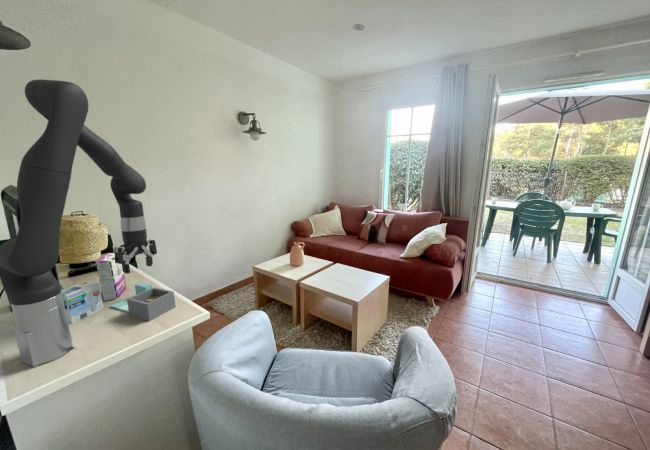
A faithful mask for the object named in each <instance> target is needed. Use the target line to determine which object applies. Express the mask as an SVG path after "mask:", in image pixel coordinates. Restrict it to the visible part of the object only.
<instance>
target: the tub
mask: <svg viewBox="0 0 650 450" xmlns="http://www.w3.org/2000/svg"><path fill="white" fill-rule="evenodd" d="M134 295H135V296H134ZM134 295H132V296H133V297H132V296H129V297H130V298H129V297H128V299H127V298H126V299H127V303H128V309H129V312H128V313H129V316H130V317H132V318H137V319H140V320H144V321H146V322H147V321H148V322H151V321H153V320H155V319H156V318H159V317H160V316H162V315H164V314H166V313H168V312H170V311H171V310H173V309H175V308H176V301H175V292H174V290H173V291H172V290H168V289H164V288H160V287H155V286H154V287H152V288H151V289H149V290H147V291H144V292H142V293H140V294H137V295H136V294H134ZM152 296H158V297H159V298H157V299H155V300H153V301H150V302H148V303H147V302H145V301H146V300H147V299H149V298H150V297H152Z"/></svg>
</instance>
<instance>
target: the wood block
mask: <svg viewBox="0 0 650 450" xmlns="http://www.w3.org/2000/svg"><path fill="white" fill-rule="evenodd" d="M157 298H159V297H158V296H152V297H150V298H149V299H147V300H146V301H145V302H147V303H148V302H150V301H153V300H155V299H157Z"/></svg>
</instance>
